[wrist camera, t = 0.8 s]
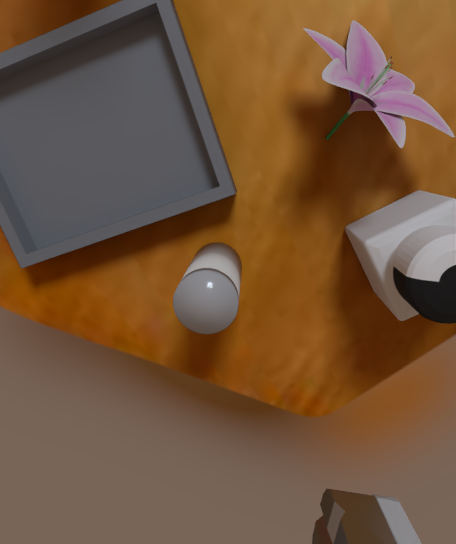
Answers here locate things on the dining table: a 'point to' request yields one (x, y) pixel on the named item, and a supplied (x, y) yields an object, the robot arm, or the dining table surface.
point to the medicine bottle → (411, 255)
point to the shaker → (209, 289)
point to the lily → (374, 83)
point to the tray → (103, 131)
